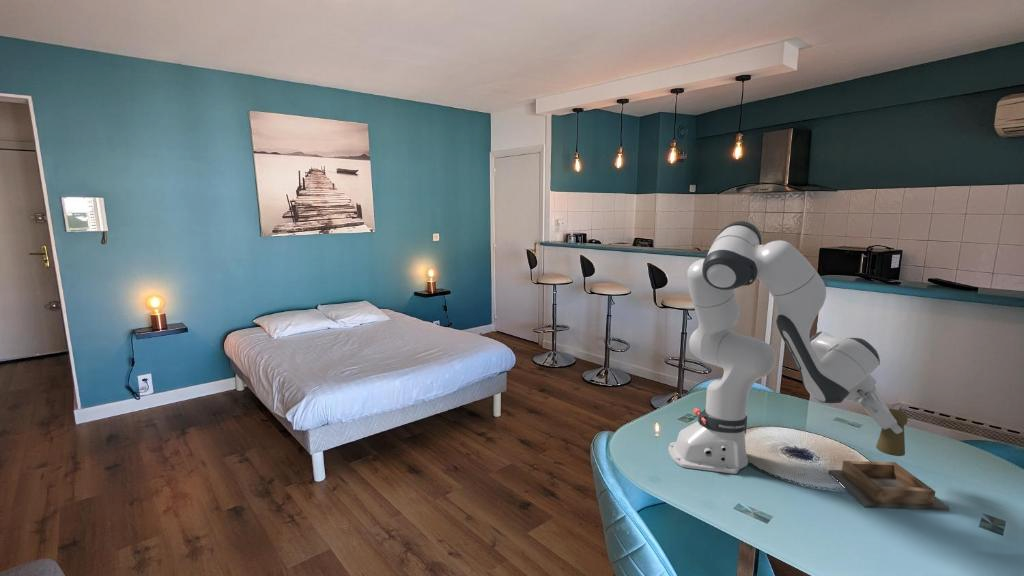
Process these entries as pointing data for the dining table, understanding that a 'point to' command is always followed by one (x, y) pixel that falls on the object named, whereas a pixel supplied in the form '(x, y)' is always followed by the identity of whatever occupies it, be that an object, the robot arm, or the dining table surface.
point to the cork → (893, 436)
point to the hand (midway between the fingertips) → (896, 426)
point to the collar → (886, 486)
